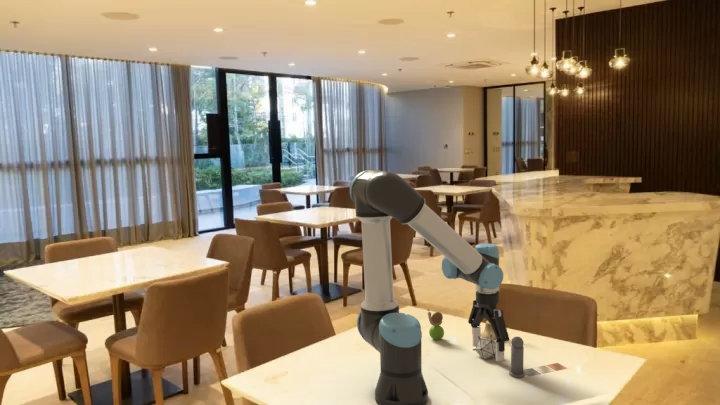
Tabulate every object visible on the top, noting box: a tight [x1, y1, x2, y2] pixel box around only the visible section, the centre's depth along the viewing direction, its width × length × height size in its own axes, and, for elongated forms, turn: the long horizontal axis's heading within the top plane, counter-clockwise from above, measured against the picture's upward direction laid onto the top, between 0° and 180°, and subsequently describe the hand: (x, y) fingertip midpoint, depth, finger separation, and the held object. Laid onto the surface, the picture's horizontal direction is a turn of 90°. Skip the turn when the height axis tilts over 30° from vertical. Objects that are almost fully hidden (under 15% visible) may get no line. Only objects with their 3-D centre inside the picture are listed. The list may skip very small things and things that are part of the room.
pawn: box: [508, 336, 526, 379], centre depth 165 cm, size 5×5×12 cm
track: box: [506, 362, 568, 380], centre depth 168 cm, size 21×7×1 cm, turn 110°
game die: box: [472, 334, 496, 360], centre depth 180 cm, size 9×8×10 cm
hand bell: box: [481, 317, 497, 341], centre depth 201 cm, size 8×8×16 cm
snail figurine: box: [427, 308, 445, 341], centre depth 199 cm, size 5×6×12 cm
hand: (487, 352), depth 180 cm, fingers open, 13 cm apart
